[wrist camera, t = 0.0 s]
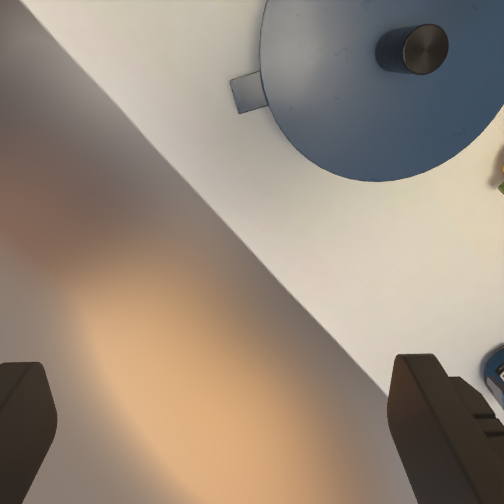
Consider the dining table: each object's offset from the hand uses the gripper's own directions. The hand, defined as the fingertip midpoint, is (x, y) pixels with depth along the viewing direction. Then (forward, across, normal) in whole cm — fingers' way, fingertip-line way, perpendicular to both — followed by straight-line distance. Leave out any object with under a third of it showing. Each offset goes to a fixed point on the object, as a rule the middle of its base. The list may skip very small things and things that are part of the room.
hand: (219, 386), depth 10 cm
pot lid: (+24, -11, -7) cm, 28 cm away
